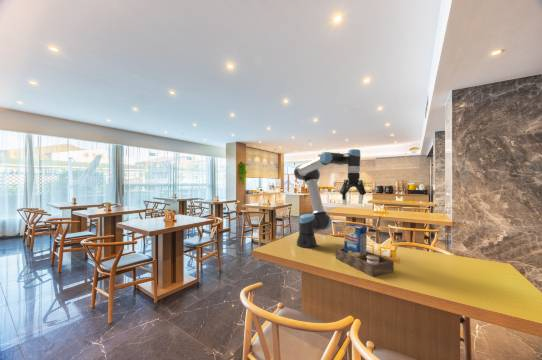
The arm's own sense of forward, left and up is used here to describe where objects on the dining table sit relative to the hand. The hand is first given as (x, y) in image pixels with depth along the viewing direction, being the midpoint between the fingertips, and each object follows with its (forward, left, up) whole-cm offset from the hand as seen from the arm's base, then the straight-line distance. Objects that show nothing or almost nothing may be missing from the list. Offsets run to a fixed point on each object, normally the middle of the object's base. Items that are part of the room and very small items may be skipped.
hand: (352, 204), depth 145 cm
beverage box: (+9, -6, -35) cm, 36 cm away
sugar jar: (+22, -6, -34) cm, 41 cm away
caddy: (+15, -6, -34) cm, 38 cm away
